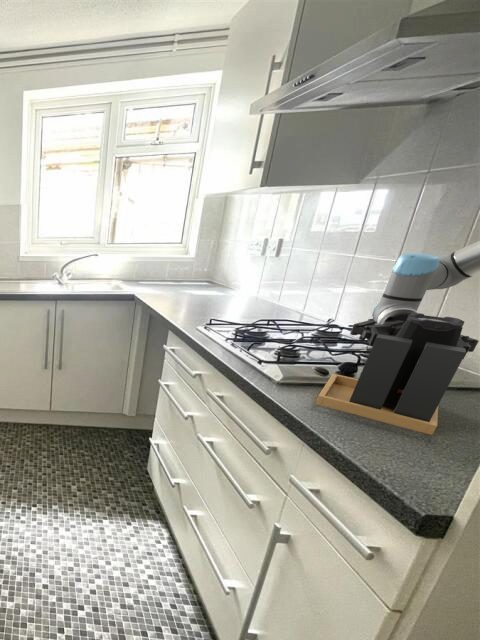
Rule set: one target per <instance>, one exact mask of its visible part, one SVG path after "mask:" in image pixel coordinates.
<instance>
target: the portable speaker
mask: <svg viewBox="0 0 480 640" xmlns="http://www.w3.org/2000/svg"><path fill="white" fill-rule="evenodd" d="M464 324H465V320H462V319H461V318H458V317H453V316H444V317H443V316H442V317H441V316H435V315H426V314H424V313H420V312H418V313H412V314H409V316H408V318H407V321H405V323H404V324H403V326H402V328H401V329H400V331H399V332H398V334H397V335H396V337H399V338H405V339H411V340H412V344H411V346H410V348H409V350H408V352H407V354H406V357H405V359H404V361H403V363H402V365H401V367H400V369H399V372H398V374H397V376H396V378H395V380H394V382H393V384H392V387H391V389H390V391H389V393H388V395H387V397H386V399H385V401H384V404H385V405H389V406H392V407H396V406H397V404H398V402H399V399H400V397H401V395H402V393H403V391H404V389H405V387H406V385H407V383H408V381H409V379H410V377H411V375H412V373H413V370H414V368H415V366H416V364H417V362H418V360H419V358H420V356H421V354H422V352H423V350H424V348H425V346H426V344H427V342H429V343H435V344H441V345H447V346H453V347H457V344H458V341H459V338H460V335H462V331H463V326H464ZM384 404H383V405H384Z"/></svg>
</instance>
